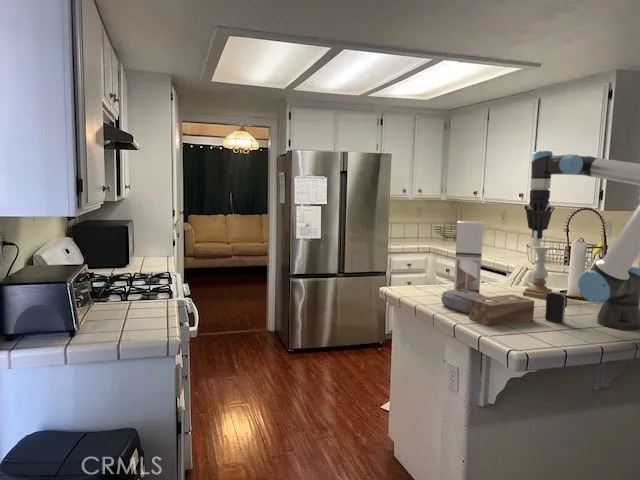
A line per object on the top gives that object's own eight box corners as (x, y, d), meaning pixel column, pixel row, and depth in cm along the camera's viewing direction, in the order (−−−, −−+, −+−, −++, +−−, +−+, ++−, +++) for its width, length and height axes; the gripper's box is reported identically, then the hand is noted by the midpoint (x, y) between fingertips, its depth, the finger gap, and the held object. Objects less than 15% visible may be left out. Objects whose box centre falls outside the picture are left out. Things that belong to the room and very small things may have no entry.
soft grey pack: (436, 305, 210) (470, 317, 192) (437, 286, 209) (471, 296, 191) (462, 302, 217) (497, 313, 199) (463, 284, 216) (498, 293, 198)
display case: (453, 296, 226) (457, 222, 222) (454, 292, 236) (458, 220, 232) (479, 299, 223) (483, 223, 219) (479, 294, 233) (483, 221, 229)
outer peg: (497, 318, 185) (498, 302, 185) (488, 319, 184) (489, 302, 183) (489, 315, 189) (490, 299, 188) (481, 316, 187) (482, 300, 187)
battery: (566, 322, 187) (569, 293, 185) (561, 324, 184) (564, 294, 183) (549, 318, 192) (551, 290, 191) (544, 319, 190) (546, 291, 188)
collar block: (533, 320, 188) (534, 300, 187) (489, 326, 180) (490, 305, 179) (511, 313, 198) (513, 294, 197) (469, 318, 190) (470, 298, 189)
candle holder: (530, 292, 239) (534, 244, 236) (554, 295, 232) (557, 246, 229) (522, 295, 231) (525, 246, 229) (545, 299, 224) (549, 248, 221)
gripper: (560, 189, 194) (556, 247, 197) (533, 189, 206) (529, 244, 208) (547, 189, 191) (543, 248, 193) (520, 189, 202) (517, 244, 205)
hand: (536, 246), depth 201 cm, fingers closed
